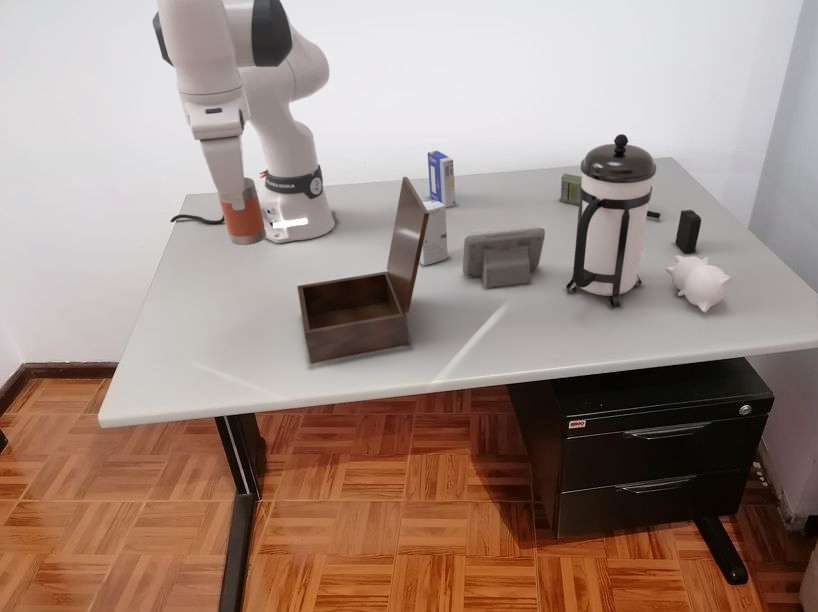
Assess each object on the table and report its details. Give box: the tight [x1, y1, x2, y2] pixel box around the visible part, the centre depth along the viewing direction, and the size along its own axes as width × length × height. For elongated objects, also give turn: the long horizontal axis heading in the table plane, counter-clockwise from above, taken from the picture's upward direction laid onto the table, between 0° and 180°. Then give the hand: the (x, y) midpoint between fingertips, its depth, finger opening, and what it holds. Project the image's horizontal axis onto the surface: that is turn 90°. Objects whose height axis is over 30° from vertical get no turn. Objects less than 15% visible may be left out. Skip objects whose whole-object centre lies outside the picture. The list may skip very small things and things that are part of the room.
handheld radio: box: [560, 173, 661, 219], centre depth 152 cm, size 7×3×25 cm
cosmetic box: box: [419, 199, 449, 266], centre depth 132 cm, size 6×4×12 cm
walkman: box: [427, 150, 456, 208], centre depth 156 cm, size 8×3×12 cm, turn 32°
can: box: [216, 176, 266, 246], centre depth 100 cm, size 6×6×9 cm
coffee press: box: [565, 133, 657, 308], centre depth 115 cm, size 17×16×30 cm
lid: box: [386, 176, 429, 314], centre depth 107 cm, size 18×16×1 cm
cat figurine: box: [665, 254, 732, 313], centre depth 119 cm, size 9×11×12 cm
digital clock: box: [462, 226, 546, 289], centre depth 126 cm, size 16×9×11 cm, turn 89°
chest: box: [296, 270, 410, 364], centre depth 112 cm, size 17×16×7 cm
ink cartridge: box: [675, 209, 702, 254], centre depth 135 cm, size 5×2×8 cm, turn 10°
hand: (239, 199), depth 99 cm, fingers closed on can, 6 cm apart
